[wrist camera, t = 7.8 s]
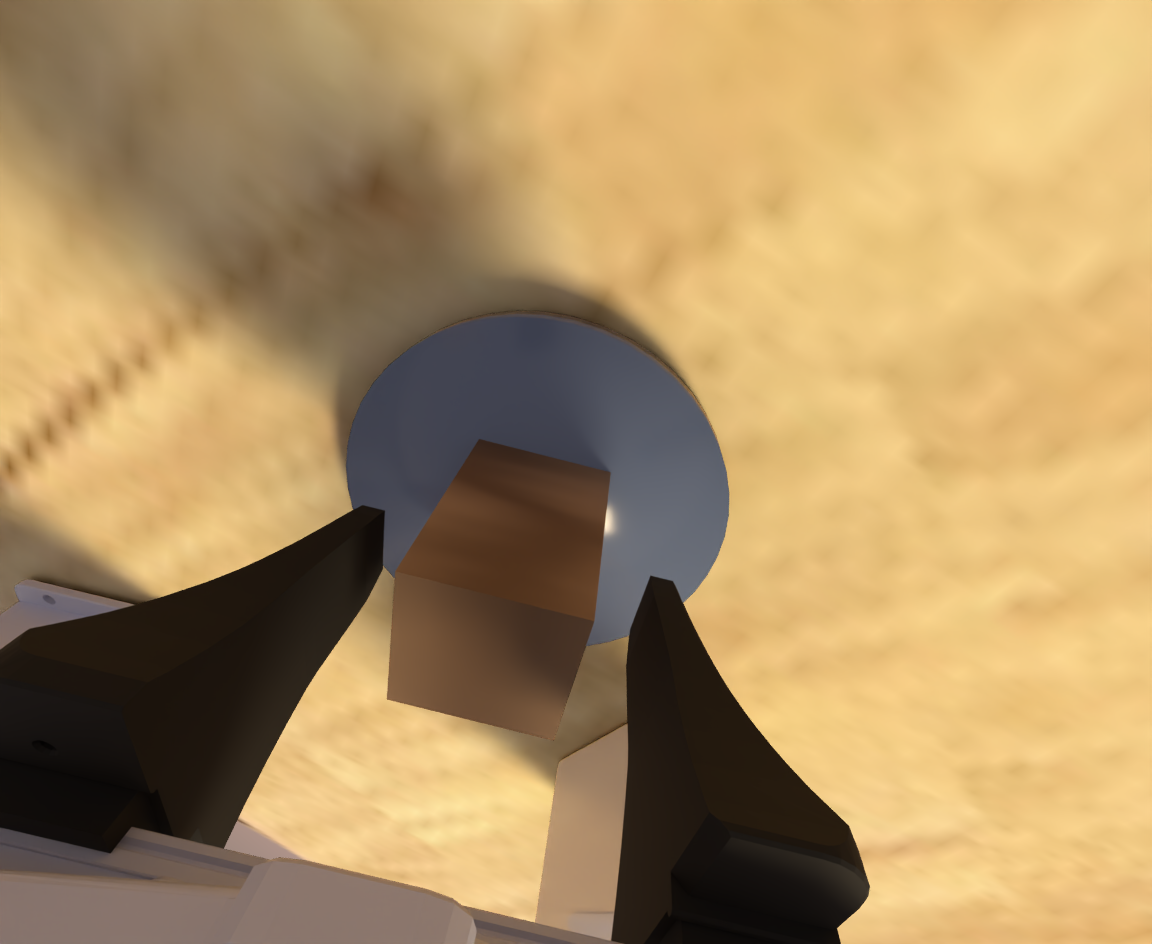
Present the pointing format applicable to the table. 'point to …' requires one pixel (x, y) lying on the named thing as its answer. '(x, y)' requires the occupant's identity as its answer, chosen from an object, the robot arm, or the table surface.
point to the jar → (585, 838)
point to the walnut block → (501, 591)
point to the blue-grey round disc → (550, 442)
